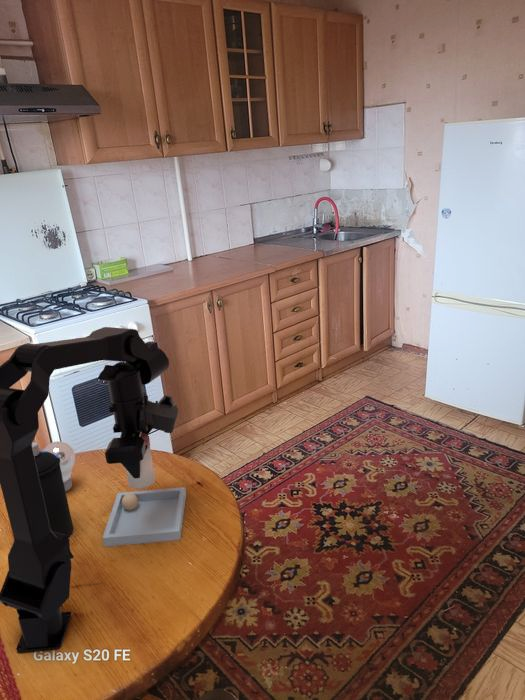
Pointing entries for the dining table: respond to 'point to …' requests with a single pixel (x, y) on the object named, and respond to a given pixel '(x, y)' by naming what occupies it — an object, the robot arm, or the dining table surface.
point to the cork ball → (129, 501)
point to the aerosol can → (53, 491)
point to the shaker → (143, 469)
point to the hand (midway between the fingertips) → (139, 469)
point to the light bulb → (63, 460)
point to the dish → (147, 518)
